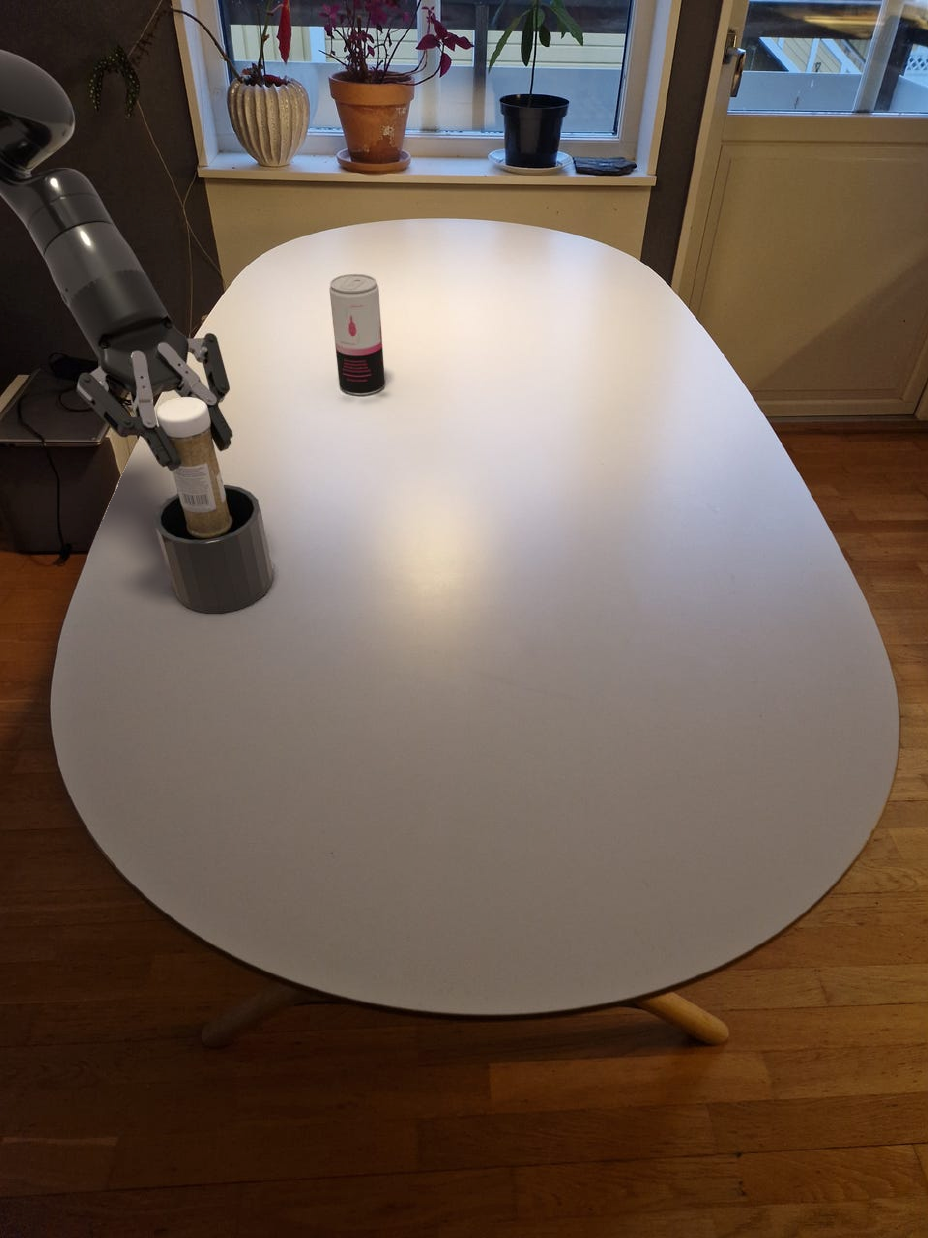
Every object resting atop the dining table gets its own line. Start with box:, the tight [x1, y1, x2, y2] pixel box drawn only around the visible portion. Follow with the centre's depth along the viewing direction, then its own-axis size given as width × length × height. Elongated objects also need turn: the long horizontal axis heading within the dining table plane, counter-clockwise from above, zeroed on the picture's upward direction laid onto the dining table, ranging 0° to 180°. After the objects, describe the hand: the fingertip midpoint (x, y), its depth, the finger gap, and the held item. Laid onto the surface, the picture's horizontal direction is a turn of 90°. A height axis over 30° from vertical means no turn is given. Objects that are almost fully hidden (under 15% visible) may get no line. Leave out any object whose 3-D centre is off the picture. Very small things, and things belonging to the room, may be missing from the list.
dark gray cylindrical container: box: [154, 484, 274, 615], centre depth 89 cm, size 10×10×9 cm
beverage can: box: [329, 273, 386, 396], centre depth 120 cm, size 7×6×15 cm
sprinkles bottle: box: [155, 396, 232, 539], centre depth 83 cm, size 5×5×14 cm
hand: (201, 456), depth 80 cm, fingers closed on sprinkles bottle, 4 cm apart
